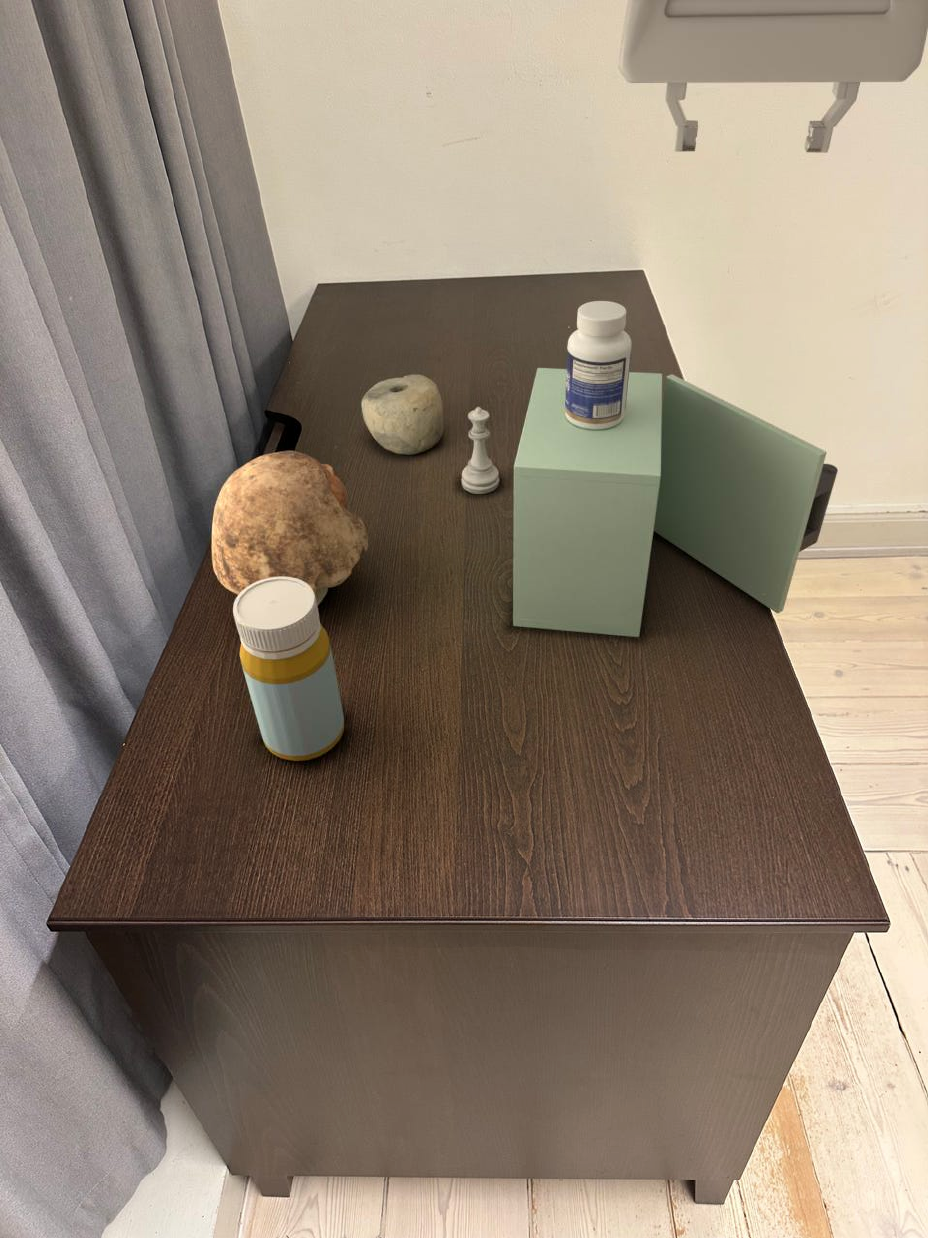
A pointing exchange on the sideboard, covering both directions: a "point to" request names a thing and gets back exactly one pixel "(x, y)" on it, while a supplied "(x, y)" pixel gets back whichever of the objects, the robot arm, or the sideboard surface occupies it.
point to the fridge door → (738, 491)
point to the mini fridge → (585, 511)
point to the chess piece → (479, 458)
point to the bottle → (289, 668)
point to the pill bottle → (598, 366)
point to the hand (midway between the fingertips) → (749, 150)
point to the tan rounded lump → (285, 525)
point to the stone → (404, 414)
